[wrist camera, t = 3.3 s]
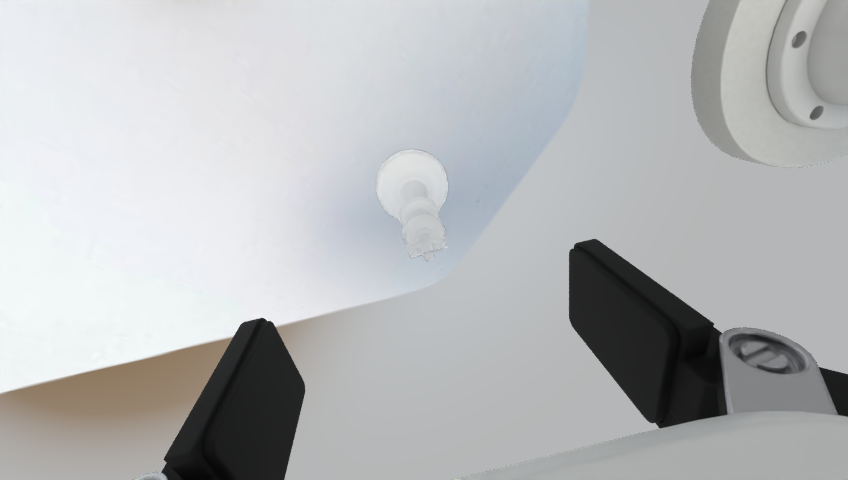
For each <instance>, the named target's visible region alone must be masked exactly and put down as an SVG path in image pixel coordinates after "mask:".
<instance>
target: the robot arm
mask: <svg viewBox="0 0 848 480" xmlns="http://www.w3.org/2000/svg"><path fill="white" fill-rule="evenodd" d="M767 82H768V90H769V93H770V96H771V100H772V103H773V104H774V106H775V107H776V109H777V110H778V112H779V113H780V114H781V115H782V116H783V117H784V118H786V119H787V120H788V121H789V122H791V123H794V124H796V125H799V126H802V127H809V128H817V129H840V128H844V127H848V0H787V2H786V4H785V6H784V8H783V10H782V13H781V15H780V18H779V20H778V22H777V25H776V27H775V30H774V34H773V37H772V41H771V45H770V48H769V55H768V63H767ZM569 319H570V322H571V324H572V326H573V328H574V329H575V331H576V332H577V333H578V334H579V335H580V337H581V338H582V339H583V341H584V342H585V343H586V344H587V346H588V347H589V348H590V349H591V350H592V352H593V353H594V354H595V356H596V357H597V358H598V359H599V361H600V362H601V363H602V365H603V366H604V367H605V368H606V370H607V371H608V372H609V373H610V374H611V376H612V377H613V378H614V380H615V381H616V382H617V383H618V385H619V386H620V387H621V388H622V390H623V391H624V392H625V393H626V395H627V396H628V397H629V399H630V400H631V401H632V402H633V404H634V405H635V406H636V407H637V409H638V410H639V411H640V412H641V414H642V415H643V416H644V417H645V418H646V419H647V421H649V422H650V423H656V424H657V425H658V427H659V428H660V429H656V430H652V431H648V432H643V433H639V434H634V435H630V436H626V437H622V438H618V439H614V440H610V441H606V442H602V443H598V444H594V445H590V446H586V447H582V448H578V449H574V450H569V451H565V452H562V453H557V454H554V455H549V456H545V457H541V458H537V459H533V460H529V461H526V462H521V463H517V464H513V465H509V466H505V467H501V468H497V469H493V470H489V471H485V472H481V473H478V474H474V475H470V476H466V477H462V478H458V479H454V480H848V374H844V373H840V372H836V371H832V370H828V369H824V368H820V367H818V365H817V362H816V361H815V359H814V358H813V357H812V355H811V354H810V353H809V352H808V351H807V350H805V349H804V348H803V347H802V346H800V345H799V344H797V343H795V342H793V341H792V340H790V339H788V338H786V337H783V336H781V335H778V334H776V333H773V332H769V331H765V330H761V329H755V328H746V327H745V328H744V327H743V328H733V329H730V330H727V331H725V332H724V333H723V334H722V333H721V332H720V331H718V330H717V329H716V328H714V327H713V325H714V323H713V322H711V321H710V320H708V319H707V318H706V317H704V316H702V315H701V314H700V313H699V312H697V311H696V310H694V309H693V308H691V307H690V306H689V305H687V304H686V303H685V302H683V301H682V300H681V299H679V298H678V297H676V296H675V295H674V294H672V293H670V292H669V291H668V290H667V289H665V288H664V287H662V286H661V285H659V284H658V283H657V282H655V281H654V280H652V279H651V278H650V277H648V276H647V275H646V274H644V273H643V272H642V271H640V270H639V269H637V268H636V267H635V266H633V265H632V264H630V263H629V262H628V261H626V260H625V259H623V258H622V257H621V256H619V255H618V254H616V253H615V252H614V251H612V250H611V249H609V248H608V247H607V246H605V245H604V244H603V243H601V242H600V241H598V240H596V239H592V240H588V241H583V242H579V243H576V244H575V245H574V249H571V250H570V252H569ZM304 394H305V385H304V381H303V379H302V377H301V375H300V374H299V371H298V370H297V368H296V366H295V364H294V362H293V360H292V358H291V356H290V354H289V353H288V350H287V349H286V347H285V345H284V343H283V341H282V339H281V337H280V335H279V333H278V332H277V329H276V327H275V326H274V324H273V323H272V322H271V321H268V322H267V320H266V319H264V318H260V319H256V320H251V321H247V322H244V323H242V324H241V325H240V327H239V328H238V330H237V332H236V334H235V335H234V337H233V339H232V341H231V342H230V344H229V346H228V348H227V350H226V351H225V353H224V355H223V356H222V358H221V360H220V362H219V363H218V365H217V367H216V369H215V370H214V372H213V374H212V376H211V378H210V379H209V381H208V383H207V385H206V386H205V388H204V390H203V391H202V393H201V395H200V397H199V399H198V400H197V402H196V404H195V405H194V407H193V409H192V411H191V412H190V414H189V416H188V418H187V419H186V421H185V423H184V425H183V426H182V428H181V430H180V431H179V433H178V435H177V437H176V438H175V440H174V442H173V444H172V445H171V447H170V449H169V451H168V453H167V454H166V456H165V458H164V460H165V461H166V462H167V463H166V465H165V467H164V469H163V470H162V472H161V473H159V472H152V473H147V474H144V475H142V476H139V477H137V478H135V479H133V480H284V478H285V474H286V470H287V465H288V461H289V457H290V453H291V449H292V445H293V440H294V436H295V432H296V428H297V424H298V420H299V415H300V411H301V407H302V403H303V399H304Z"/></svg>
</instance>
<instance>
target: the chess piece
mask: <svg viewBox="0 0 848 480" xmlns="http://www.w3.org/2000/svg"><path fill="white" fill-rule="evenodd" d="M376 192H377V196H378V199H379V201H380V203H381V205H382V207H383V208H384V209H385V210H386V211H387V212H388V213H389V214H390V215H391V216H393V217H395V218H397V219H399V220H400V222H401V224H402V226H403V227H404V229H403V240H404V242H405V244H406V246H407V250H408V253H409V256H410V258H411V259H412V258H415V257H418V256H421V255H424V257H425V260H426V261H429V260H432V259H435V258H436V257H435V253H434V251H437V250H440V249H443V248H446V247H448V246H447V243H446V240H445V228H444V225H443V223H442V222H441V221H440V220H439V209H440V208H441V207H442V205H443V204H444V202H445V200H446V197H447V193H448V180H447V175H446V172H445V170H444V168H443V166H442V164H441V163H440V162H439V161H438V160H437V159H436V158H435V157H434V156H432V155H431V154H429V153H427V152H424V151H420V150H404V151H401V152H398V153H396V154H394V155H392V156H391V157H389V158H388V159H387V160H386V161H385V162H384V163H383V165H382V166H381V168H380V170H379V172H378V174H377V178H376Z"/></svg>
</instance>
